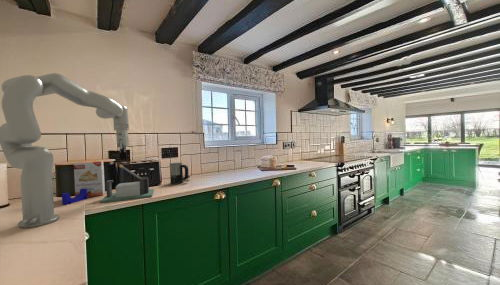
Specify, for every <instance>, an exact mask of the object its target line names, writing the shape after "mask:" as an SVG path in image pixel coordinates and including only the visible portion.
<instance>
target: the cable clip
mask: <svg viewBox="0 0 500 285" xmlns="http://www.w3.org/2000/svg"><path fill="white" fill-rule="evenodd" d="M87 199H88V197H87V189H80V193H79V194H78V195H76V196H74V197H73V198H72V197H71V194H70V193H69V192H67V193H66V192H64V193H61V201H62V205H63V206H65V205H66V206H68V205H71V204H74V203H78V202H81V201H85V200H87Z"/></svg>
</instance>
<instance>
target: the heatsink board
mask: <svg viewBox="0 0 500 285" xmlns="http://www.w3.org/2000/svg"><path fill="white" fill-rule="evenodd" d="M141 178H142V179H139V181H133V182H124V183H118V184H117V185H115V192H113V189H112V187H113V186H112V183H113V182H114V179H112V180H111V179H109V180H107V181H106V182H105V191H106V196H104V198H101V200H100V203H101V204H105V203H112V202H113V203H115V202H120V201H121V202H122V201H131V200H139V199H146V198H152V197H153V194H154V188H150V187H149V186H150V185H149V176H145V177H141Z"/></svg>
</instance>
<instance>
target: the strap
mask: <svg viewBox="0 0 500 285" xmlns="http://www.w3.org/2000/svg"><path fill="white" fill-rule="evenodd" d="M118 167H119V168H121V169H123V171H126V172H127V173H129V174H130V175H132V176H133V177H135V178H136V179H138V180H140V179H142V177H141V176H139V175H138V174H136V173H134V172H133V171H132V170H129V169H128V168H126V167H125V166H124V165H122V164H119V165H118Z"/></svg>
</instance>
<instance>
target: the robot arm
mask: <svg viewBox="0 0 500 285" xmlns="http://www.w3.org/2000/svg"><path fill="white" fill-rule="evenodd" d="M1 91H2V92H3V95H2V98H1V109H2V113H3V116H4V119H5V123H3V124H1V125H0V148H1V149H2V152H3V155H4V157H5V159H6V161H7V163H8V164H9V165H10V166H11V167H13V168H15V169H18V170H21V174H20V180H19V182H20V192H21V193H20V198H21V212H22V220H20V221H19V222H18V223H17V227H18V228H19V229H21V228H22V229H27V228H34V227H39V226H43V225H48V224H52V223H54V222H56V221H57V220H59V219H60V215H59V214H55V207H54V206H55V203H54V188H53V168H54V166H53V165H54V154H53V152H51V150H50V149H48V148H46V147H44V146H40V145H34V146H33V144H34V143H37V142H38V141H39V140H40V139H41V137H42V132H41V129H40V126H39V122H38V120H37V117H36V114H35V112H34V101H35V99H36V98H37V97H43V96H47V95H53V94H54V95H55V94H56V95H59V96H60V97H62V98H64V99H66V100H68V101H70V102H72V103H74V104H75V105H78V106H82V107H89V108H94V109H95V113H96V115H97V116H98V117H99V118H101V119H105V120H106V119H112V121H113V130H114V131H115V134H116V139H115V140H116V147H117V148H119V159H120V160H127V158H128V154H127V148H128V147H130V142H129V133H128V131H129V130H130V127H129V125H130V124H129V111H128V107H127V106H125V105H124V106H123V105H121V104H120V103H118V102H116V101H115V100H113V99H111V97H109V96H106V95H103V94H100V93H97V92H95V91H91V90H88V89H86V88H85V87H83V86H82V85H79V84H78V83H76V82H74V80H72V79H69V78H67V76H64V75H63V74H60V73H56V72H54V73H48V74H45V75H44V74H43V75H38V76H35V75H31V74H28V75H27V74H26V75H25V74H24V75H19V76H16V77H12V78H8V79H6V80H4V81H3V82H2V84H1Z"/></svg>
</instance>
